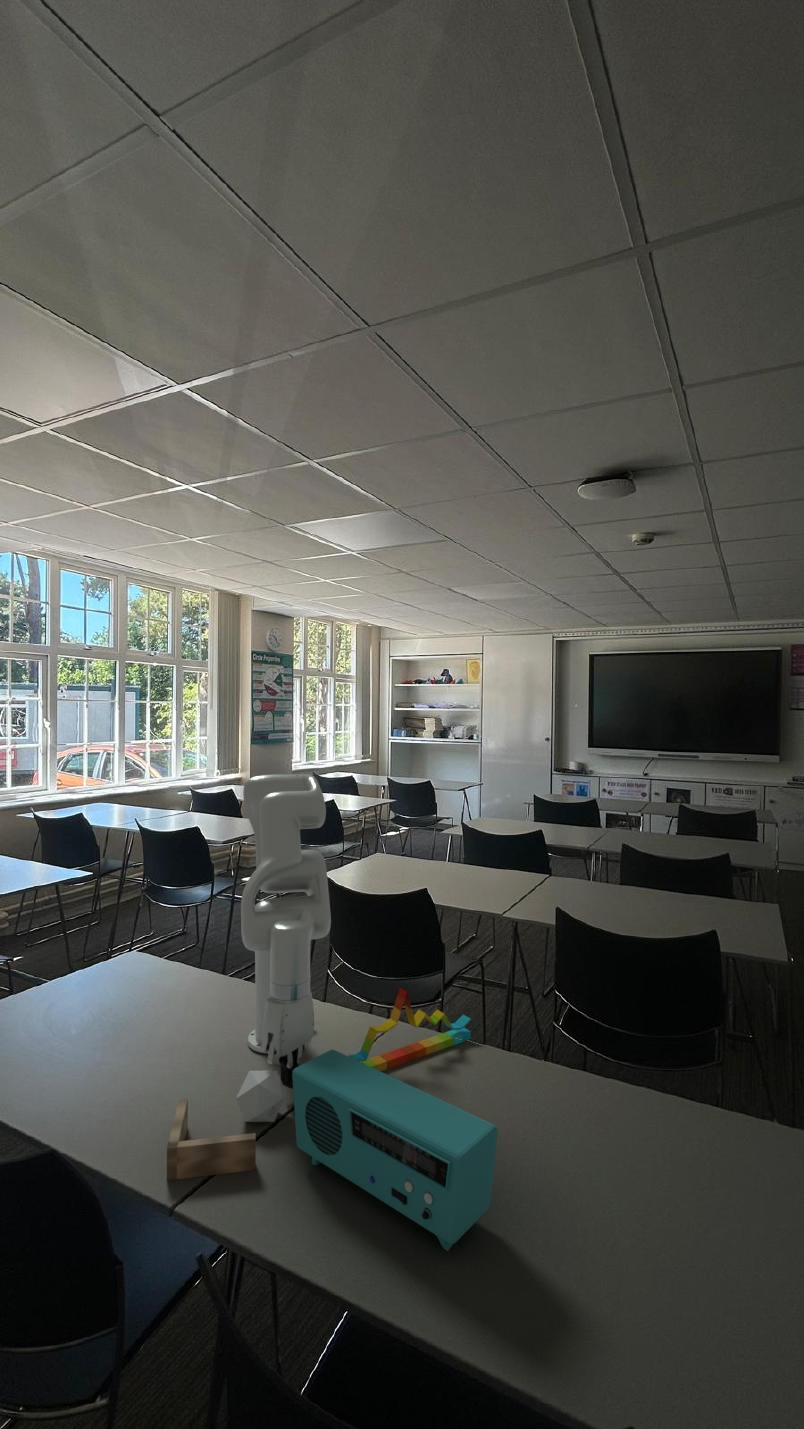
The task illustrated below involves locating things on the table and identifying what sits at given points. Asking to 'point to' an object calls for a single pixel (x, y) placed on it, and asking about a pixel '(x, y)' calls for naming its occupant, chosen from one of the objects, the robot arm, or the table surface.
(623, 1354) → the table surface
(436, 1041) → the chart
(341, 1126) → the radio
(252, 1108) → the die
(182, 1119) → the bracket
